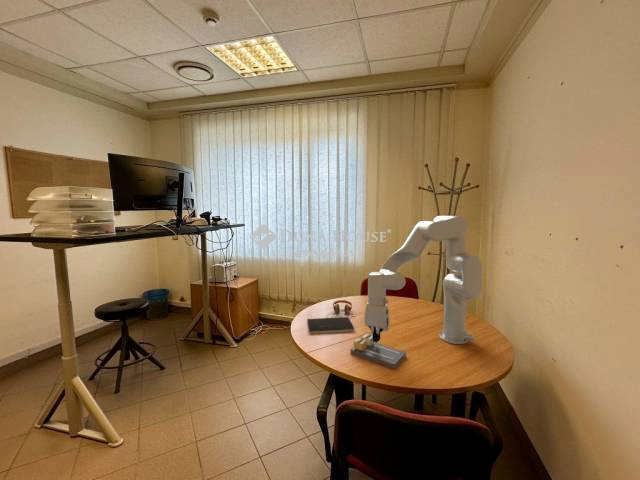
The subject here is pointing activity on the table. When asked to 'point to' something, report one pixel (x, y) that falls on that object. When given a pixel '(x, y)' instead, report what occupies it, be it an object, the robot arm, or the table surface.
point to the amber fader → (360, 344)
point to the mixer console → (381, 355)
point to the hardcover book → (330, 325)
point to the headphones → (346, 309)
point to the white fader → (368, 339)
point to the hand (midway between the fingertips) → (376, 341)
